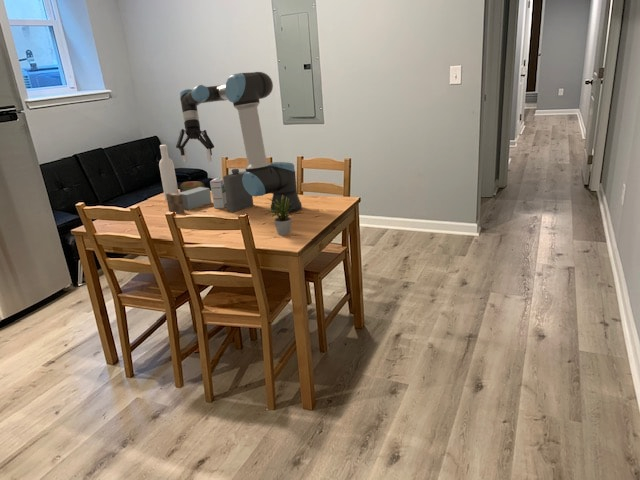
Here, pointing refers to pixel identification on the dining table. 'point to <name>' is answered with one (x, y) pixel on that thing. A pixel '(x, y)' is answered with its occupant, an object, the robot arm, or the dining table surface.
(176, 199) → the walnut board
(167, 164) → the bottle
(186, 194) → the slate block
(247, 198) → the flask
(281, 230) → the house plant
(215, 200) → the syrup box
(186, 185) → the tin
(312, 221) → the dining table surface
